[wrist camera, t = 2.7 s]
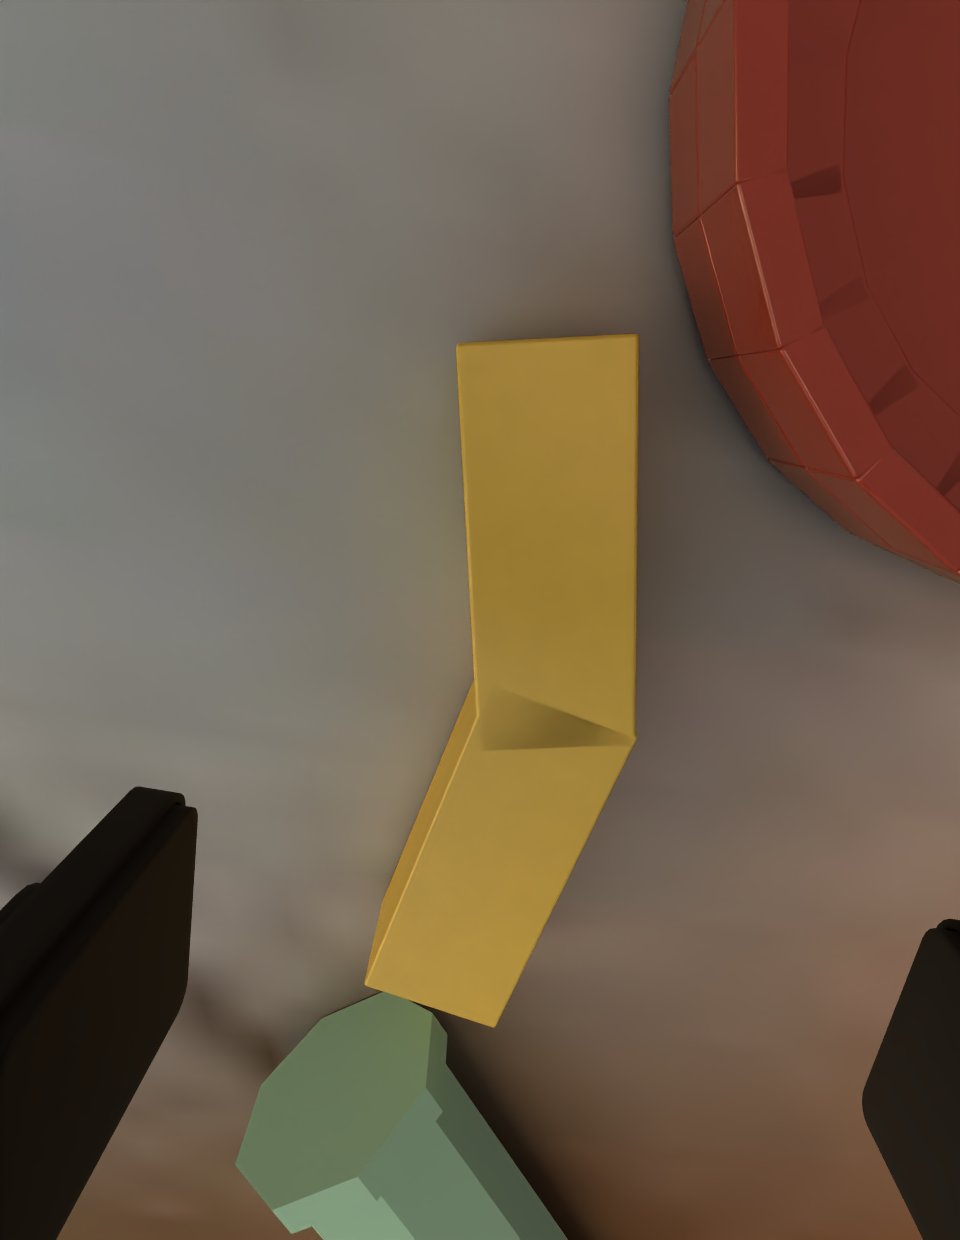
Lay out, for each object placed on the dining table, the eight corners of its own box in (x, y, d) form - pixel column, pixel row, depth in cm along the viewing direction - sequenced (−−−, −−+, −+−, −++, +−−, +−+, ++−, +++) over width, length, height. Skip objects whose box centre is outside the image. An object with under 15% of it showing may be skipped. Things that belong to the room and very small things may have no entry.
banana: (379, 921, 22) (360, 1009, 18) (467, 319, 17) (461, 303, 14) (555, 948, 22) (565, 1039, 19) (689, 357, 17) (731, 349, 14)
